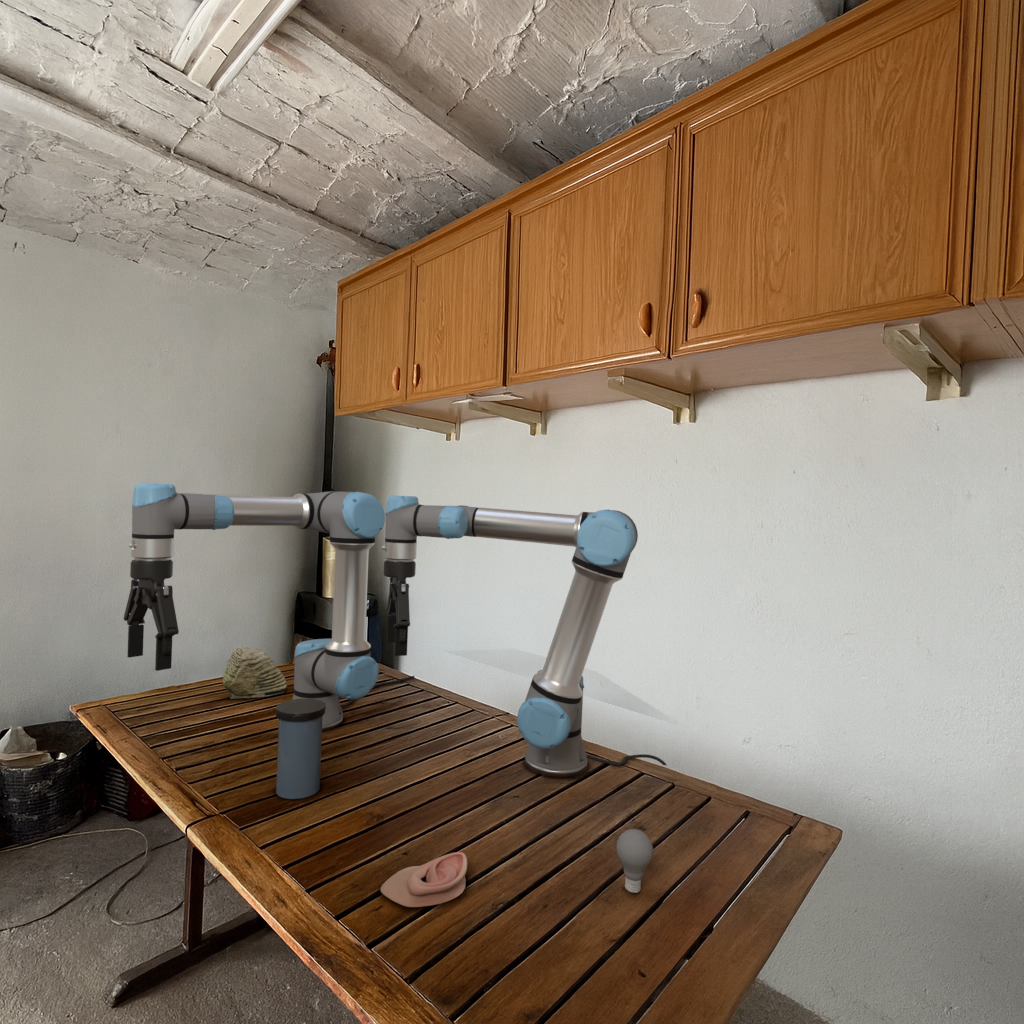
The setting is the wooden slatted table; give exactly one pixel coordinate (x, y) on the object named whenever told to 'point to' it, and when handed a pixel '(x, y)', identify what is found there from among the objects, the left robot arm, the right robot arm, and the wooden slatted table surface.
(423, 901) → the anatomical model
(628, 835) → the light bulb
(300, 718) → the lid
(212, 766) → the wooden slatted table surface
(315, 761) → the jar
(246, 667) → the fossil
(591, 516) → the right robot arm
